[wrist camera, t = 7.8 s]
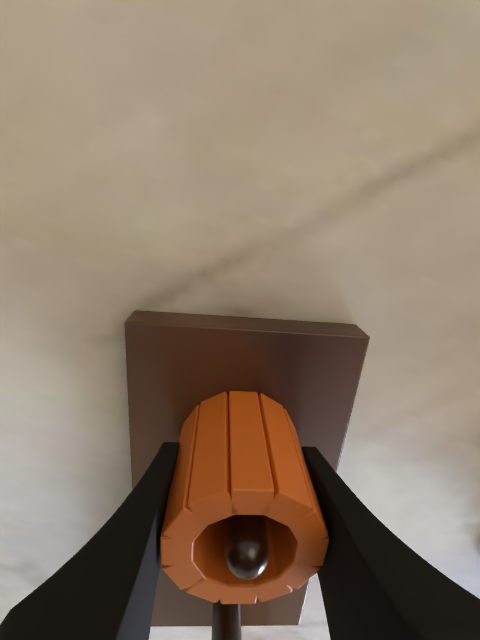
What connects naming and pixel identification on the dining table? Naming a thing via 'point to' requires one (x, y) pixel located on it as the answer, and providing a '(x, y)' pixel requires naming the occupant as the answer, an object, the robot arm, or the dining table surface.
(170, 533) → the orange faceted tube
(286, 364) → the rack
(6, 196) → the dining table surface
